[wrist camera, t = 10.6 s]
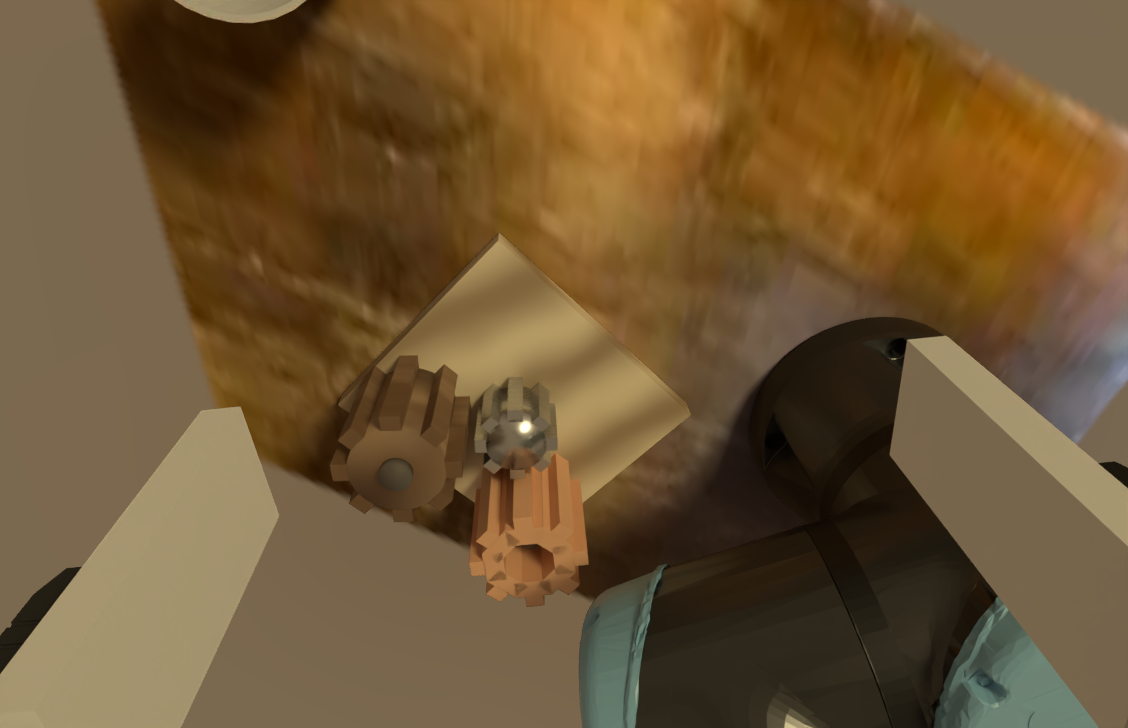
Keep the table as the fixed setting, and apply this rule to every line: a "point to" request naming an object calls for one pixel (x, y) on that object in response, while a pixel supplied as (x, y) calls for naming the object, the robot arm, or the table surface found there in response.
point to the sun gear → (516, 428)
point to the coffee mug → (242, 9)
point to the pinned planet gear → (404, 440)
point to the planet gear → (529, 533)
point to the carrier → (537, 365)
